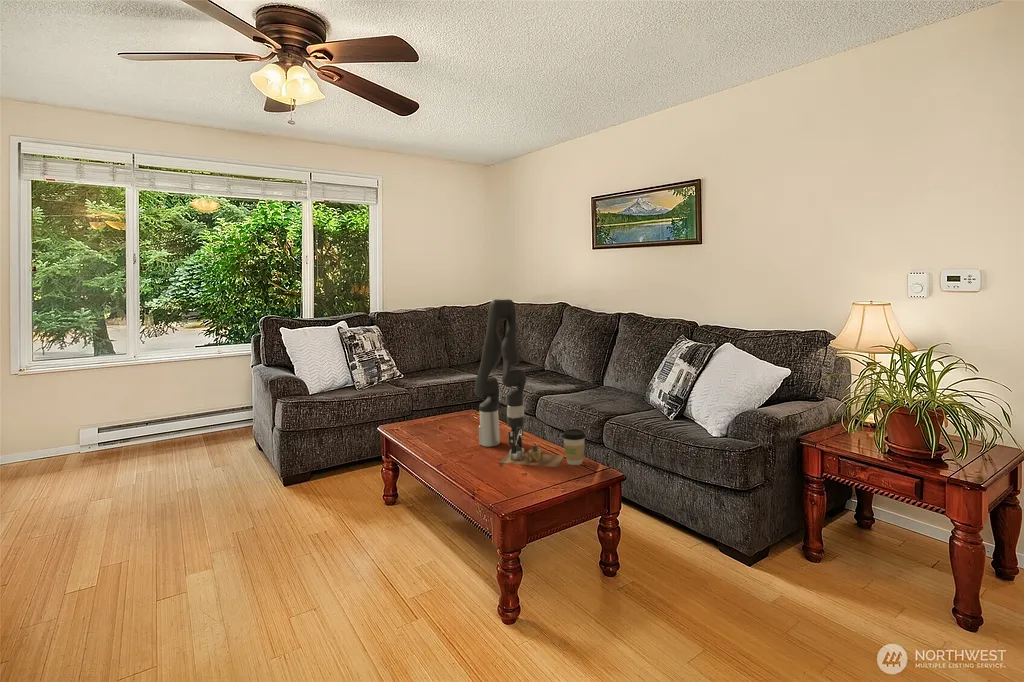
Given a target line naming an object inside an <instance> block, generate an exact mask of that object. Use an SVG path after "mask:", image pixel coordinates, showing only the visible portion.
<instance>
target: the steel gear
mask: <svg viewBox="0 0 1024 682" xmlns="http://www.w3.org/2000/svg"><path fill="white" fill-rule="evenodd" d="M509 452H510V459H512V460H522V459H523V458H524V453H525V448H524V447H519V451H517V453H516V454H512V453H511V448H510V450H509Z"/></svg>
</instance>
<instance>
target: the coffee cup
mask: <svg viewBox="0 0 1024 682" xmlns="http://www.w3.org/2000/svg"><path fill="white" fill-rule="evenodd" d="M562 438H563V441H564V444H563V446H564V451H565V459H566V463H567V464H568V465H569V466H578V465H582V464H583V460H584V451H585V438H587V437H586V433H585V431H584V430H582V429H578V428H571V429H566V430H564V432H563V434H562Z"/></svg>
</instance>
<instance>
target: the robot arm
mask: <svg viewBox="0 0 1024 682" xmlns="http://www.w3.org/2000/svg"><path fill="white" fill-rule="evenodd" d="M516 313H517V312H516V306H515V303H514V300H512V299H501V298H500V299H492V300H491V301H490V303H489V307H488V314H487V322H486V323H487V324H486V332H485V338H484V342H483V346H482V352H481V353H482V355H481V359H480V365H479V369H478V371H477V374H476V375H477V376H476V378H475V383H474V393H475V395H476V396H477V397H478V398H481V399H482V398H486V399H485V400H483V401H482V402H481V403H480V404H479V405H478V409H479V410H478V411H479V425H478V438H479V439H478V441H479V444H478V445H479V446H482V447H488V448H489V447H496V446H498V445H500V441H501V439H500V420H499V419H500V418H499V405H500V385H499V384H500V383H499V381H498V379H497V378H496V377H495V376H490V374H491V372H492V371H493V370H494V369H495V368H496V366H497V365H498V364H499V363H500V361H501V360H502V363H503V365H502V374H501V382H502V384H503V386H504V387H506V388H511V387H515V389H513V390H511V391H508V392H507V394H506V424H507V426H508V427H510V428H511V429H510V431H508V445H509V446H510V449H511V453H512V454H516V453H517V450H516V444H519V447H521V448H523V437H524V425H525V408H524V397H523V396H524V389H525V386H526V383H527V374H526V372H525V371H524V370H523V369H513V370H511V367H512V366H516V365H517V364H519V363H520V357H519V351H518V346H517V315H516ZM499 321H506V323H507V328H506V331H505V332H506V333H505V334H504V337H503V339H502V337H501V335H500V333H499V331H498V322H499ZM501 358H502V359H501ZM489 376H490V377H489Z"/></svg>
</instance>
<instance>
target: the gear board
mask: <svg viewBox="0 0 1024 682" xmlns="http://www.w3.org/2000/svg"><path fill="white" fill-rule="evenodd" d="M516 450H517V451H519V444H517V443H516ZM564 457H565V455H561V454H560V455H559V454H548V453H546V454H545V453H544V451H543V449H541V448H538V445H532V448H530V449H529V450H527V452H524V458H523V459H522V460H512V459H510V451H509V452H507V453H506V454H505V456H504V457H503V458H502V459H501V460H500V461H499V466H500V467H503V466H504V465H505V464H511V465H512V464H514V465H526V466H536V467H537V466H539V467H548V468H549V467H550V468H551V467H552V468H558V467H559V466H560V464H561V463H562V461H563V459H564Z"/></svg>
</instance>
